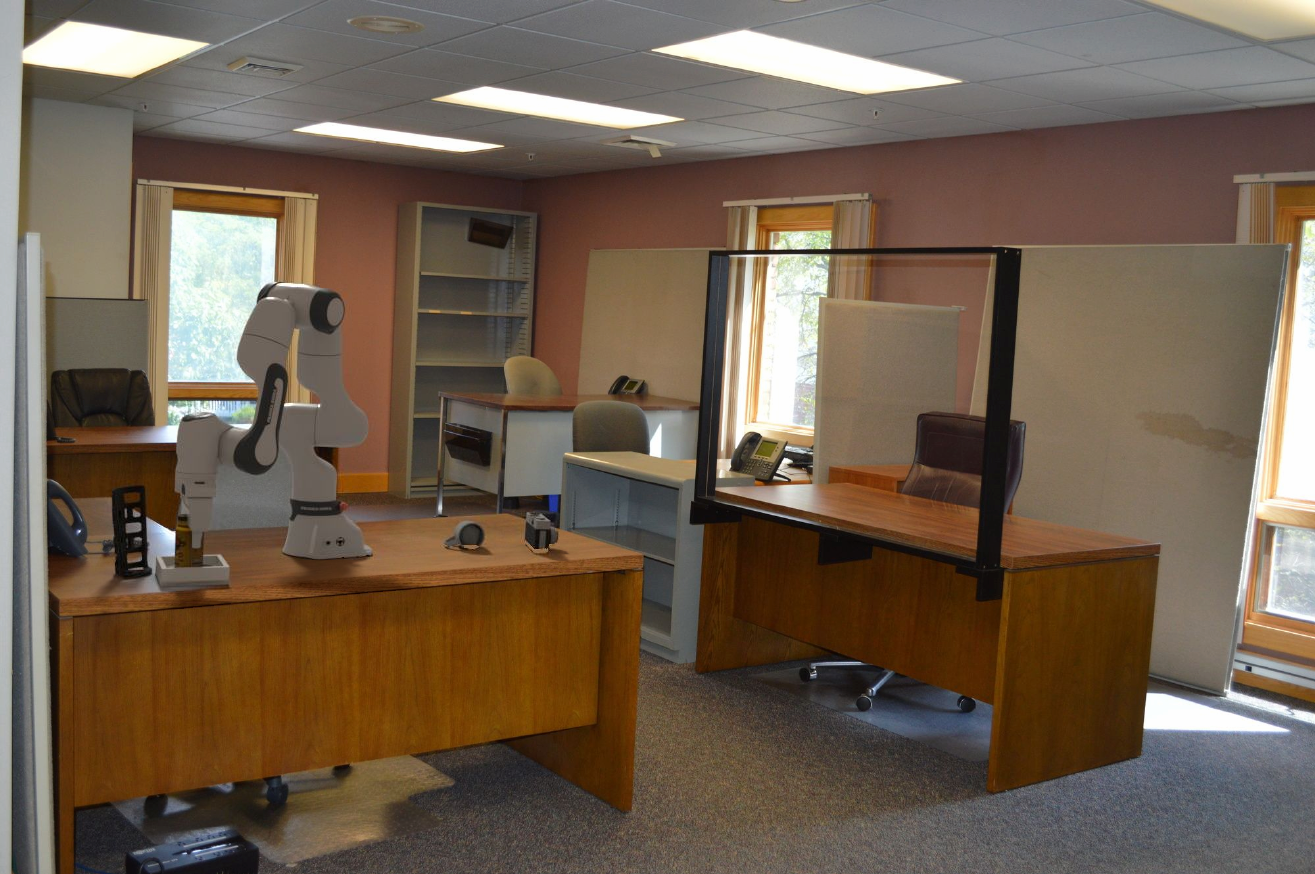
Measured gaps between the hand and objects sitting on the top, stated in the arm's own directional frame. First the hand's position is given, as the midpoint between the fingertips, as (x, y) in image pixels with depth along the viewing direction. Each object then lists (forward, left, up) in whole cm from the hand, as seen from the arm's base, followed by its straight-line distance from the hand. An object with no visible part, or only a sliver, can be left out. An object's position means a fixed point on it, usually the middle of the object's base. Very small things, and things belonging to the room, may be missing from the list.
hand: (193, 544), depth 256 cm
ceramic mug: (-74, -29, -8) cm, 80 cm away
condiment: (0, 0, -5) cm, 5 cm away
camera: (-96, -23, -8) cm, 99 cm away
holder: (+13, -7, -8) cm, 17 cm away
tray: (0, 0, -8) cm, 8 cm away
